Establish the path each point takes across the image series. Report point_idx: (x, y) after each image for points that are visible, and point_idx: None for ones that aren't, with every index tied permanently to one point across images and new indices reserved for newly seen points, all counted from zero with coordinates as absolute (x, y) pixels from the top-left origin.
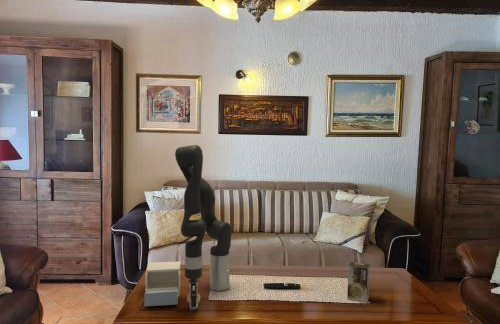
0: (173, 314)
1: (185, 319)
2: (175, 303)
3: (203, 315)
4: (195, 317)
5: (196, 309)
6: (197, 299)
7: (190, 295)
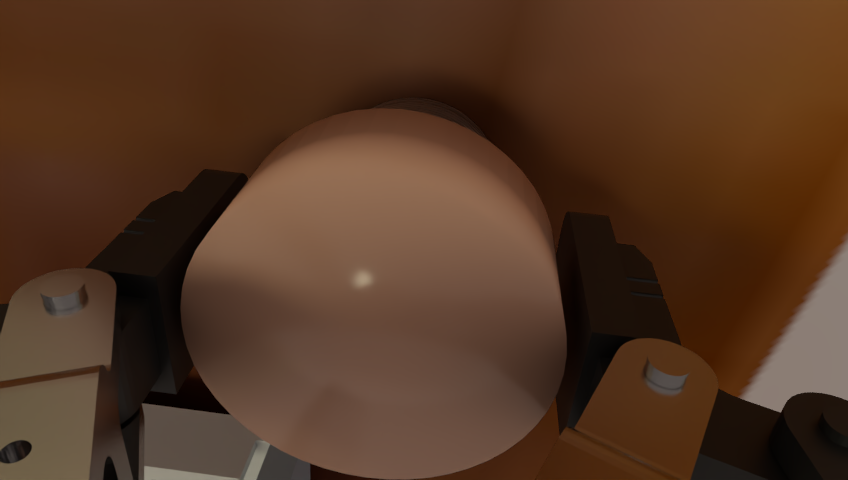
0: (538, 455)
1: (777, 344)
2: (303, 461)
3: (789, 22)
4: (792, 190)
5: (483, 135)
6: (545, 246)
7: (351, 413)
